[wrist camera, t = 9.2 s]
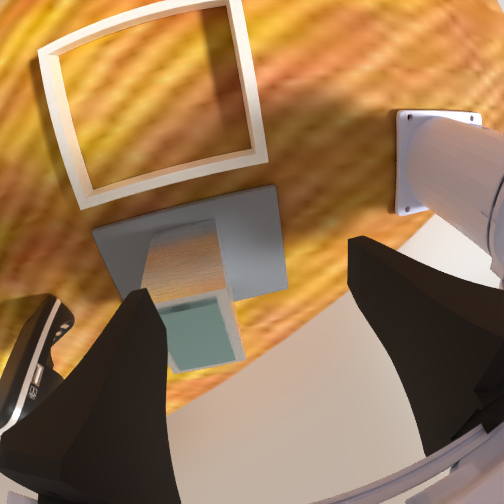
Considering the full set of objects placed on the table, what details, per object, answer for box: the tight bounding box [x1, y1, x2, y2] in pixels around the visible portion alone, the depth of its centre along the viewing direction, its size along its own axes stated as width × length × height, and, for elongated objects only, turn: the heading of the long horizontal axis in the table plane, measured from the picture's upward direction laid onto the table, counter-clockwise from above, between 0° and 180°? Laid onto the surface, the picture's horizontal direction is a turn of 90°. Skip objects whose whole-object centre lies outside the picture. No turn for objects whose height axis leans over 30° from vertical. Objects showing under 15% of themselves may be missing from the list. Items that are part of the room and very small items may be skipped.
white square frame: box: [38, 0, 269, 210], centre depth 14 cm, size 11×10×2 cm
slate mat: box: [91, 184, 288, 301], centre depth 20 cm, size 12×8×1 cm, turn 99°
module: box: [140, 218, 246, 374], centre depth 17 cm, size 4×5×7 cm
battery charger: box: [0, 295, 75, 436], centre depth 16 cm, size 7×4×11 cm, turn 125°
